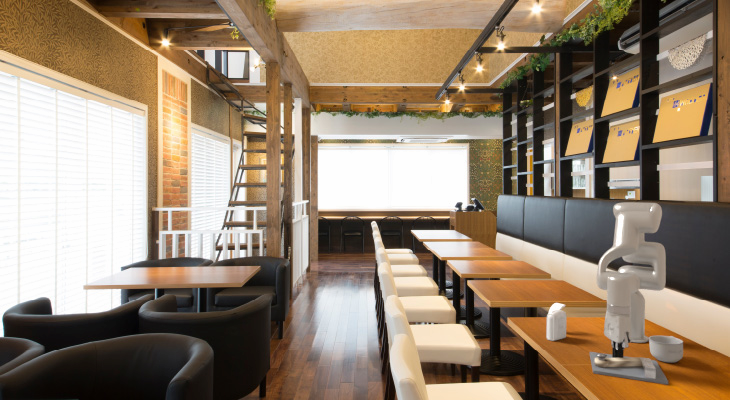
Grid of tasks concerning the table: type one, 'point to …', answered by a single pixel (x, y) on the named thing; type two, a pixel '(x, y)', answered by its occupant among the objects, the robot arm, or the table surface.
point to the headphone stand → (556, 307)
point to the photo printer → (556, 325)
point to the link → (616, 361)
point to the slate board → (628, 371)
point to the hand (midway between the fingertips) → (617, 358)
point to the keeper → (648, 368)
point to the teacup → (666, 348)
